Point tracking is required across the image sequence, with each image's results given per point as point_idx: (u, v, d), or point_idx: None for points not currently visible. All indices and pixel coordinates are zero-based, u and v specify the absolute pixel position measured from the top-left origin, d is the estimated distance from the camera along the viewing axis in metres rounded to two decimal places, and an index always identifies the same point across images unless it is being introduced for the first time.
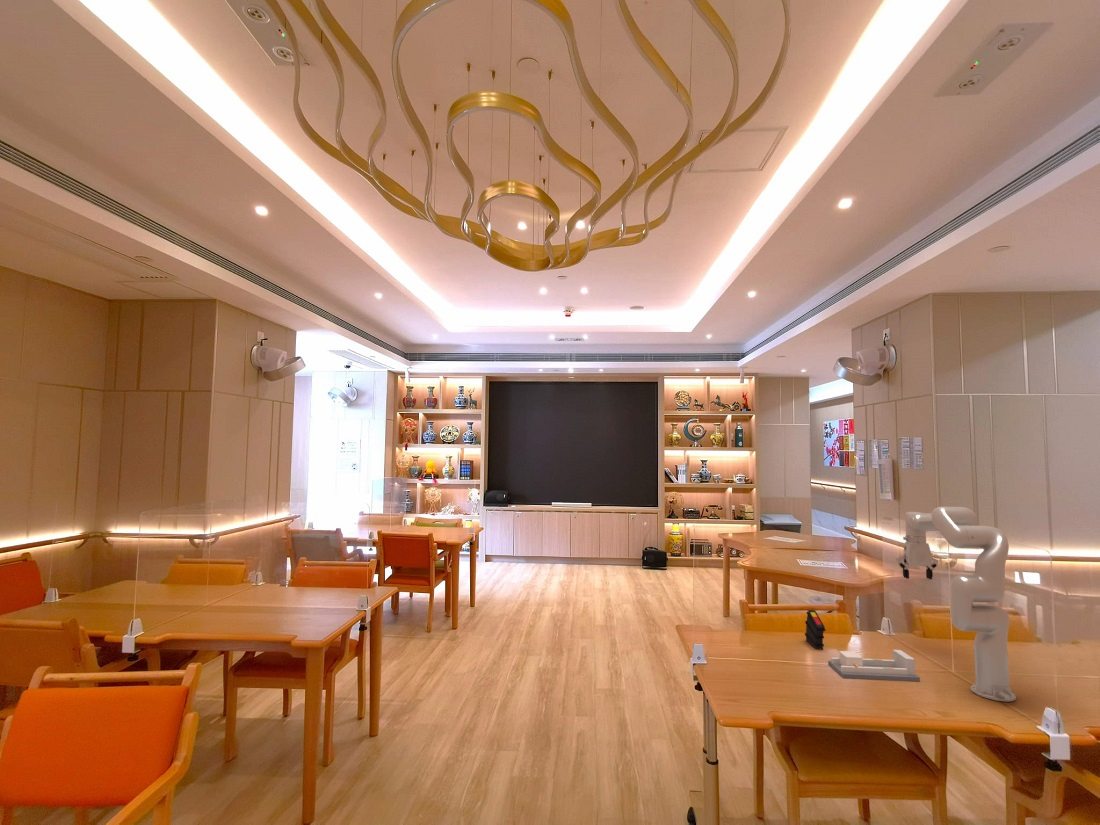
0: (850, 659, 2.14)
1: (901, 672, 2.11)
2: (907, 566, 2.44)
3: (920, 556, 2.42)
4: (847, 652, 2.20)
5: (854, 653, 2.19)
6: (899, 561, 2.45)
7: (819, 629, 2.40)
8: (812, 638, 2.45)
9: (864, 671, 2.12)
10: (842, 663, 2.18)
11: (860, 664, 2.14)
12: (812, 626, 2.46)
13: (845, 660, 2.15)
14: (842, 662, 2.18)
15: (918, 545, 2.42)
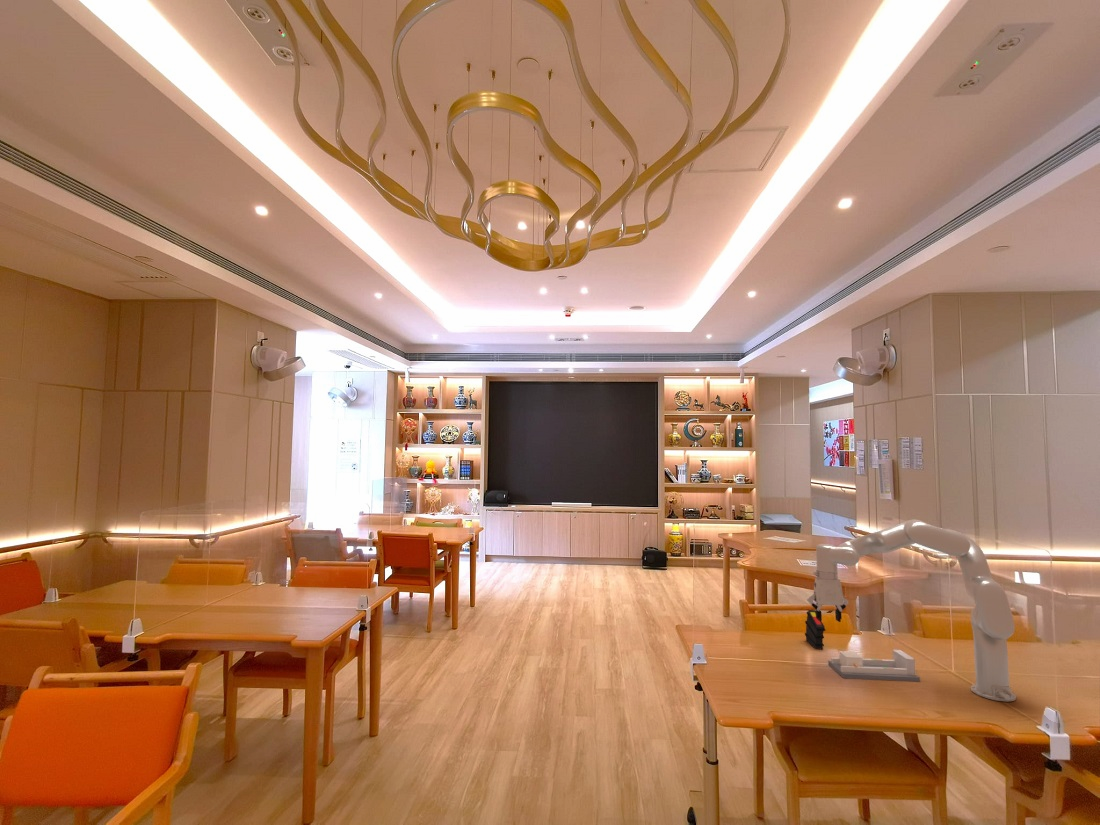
0: (850, 659, 2.14)
1: (901, 672, 2.11)
2: (819, 607, 2.19)
3: (830, 594, 2.17)
4: (847, 652, 2.20)
5: (854, 653, 2.19)
6: (810, 602, 2.20)
7: (819, 629, 2.40)
8: (812, 638, 2.45)
9: (864, 671, 2.12)
10: (842, 663, 2.18)
11: (860, 664, 2.14)
12: (812, 626, 2.46)
13: (845, 660, 2.15)
14: (842, 662, 2.18)
15: (828, 582, 2.18)
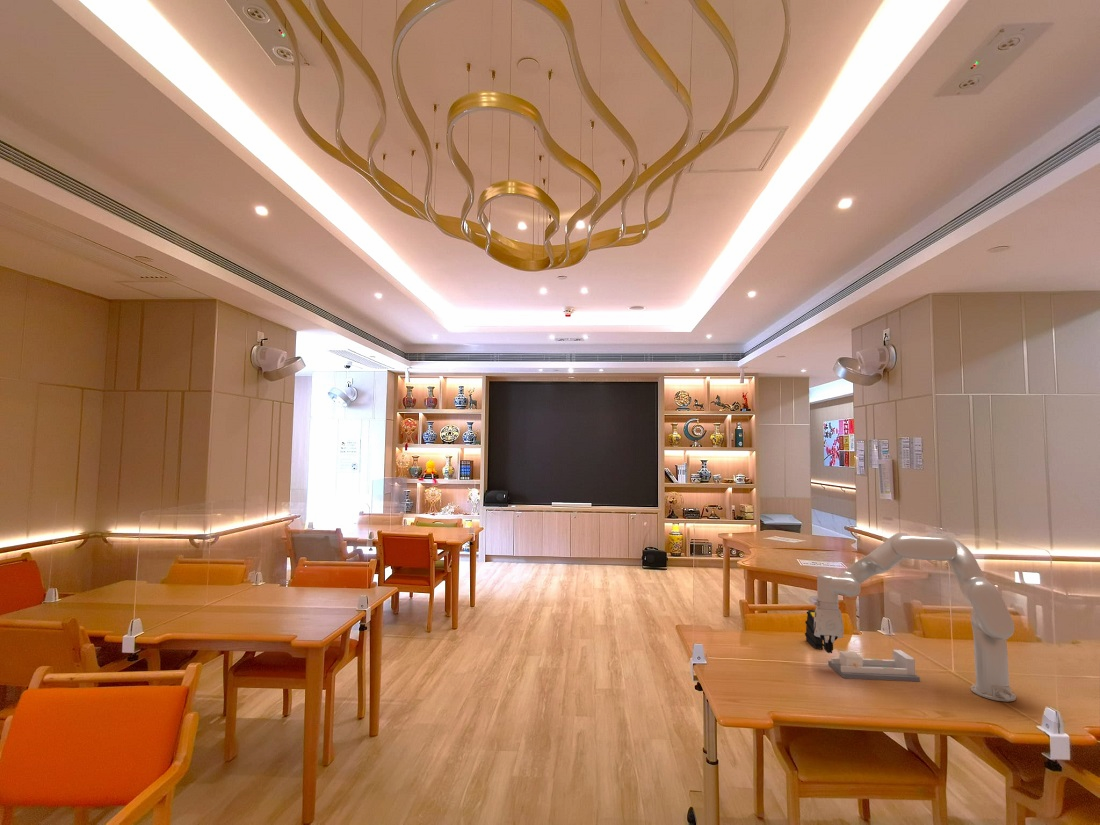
0: (850, 659, 2.14)
1: (901, 672, 2.11)
2: (826, 638, 2.18)
3: (830, 625, 2.16)
4: (847, 652, 2.20)
5: (854, 653, 2.19)
6: (818, 635, 2.19)
7: None
8: (812, 638, 2.45)
9: (864, 671, 2.12)
10: (842, 663, 2.18)
11: (860, 664, 2.14)
12: (812, 626, 2.46)
13: (845, 660, 2.15)
14: (842, 662, 2.18)
15: (829, 612, 2.17)
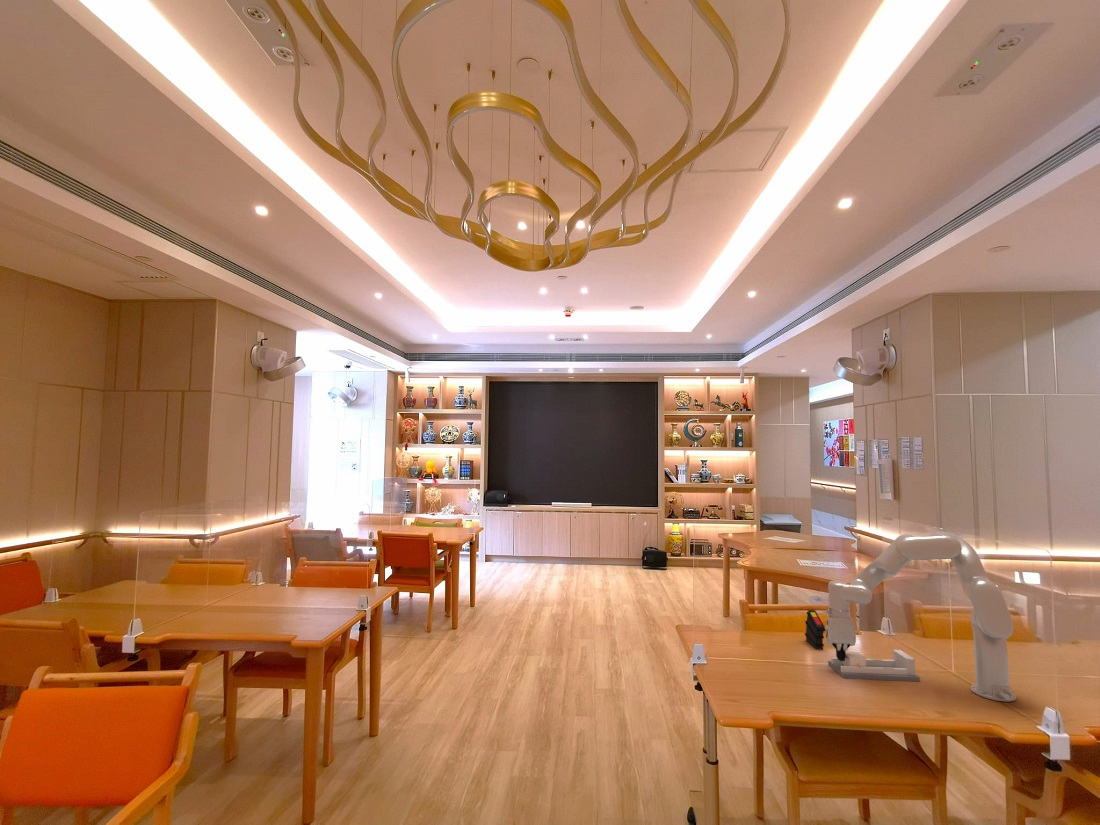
0: (854, 659, 2.14)
1: (901, 672, 2.11)
2: (838, 646, 2.17)
3: (842, 633, 2.16)
4: (850, 652, 2.20)
5: (857, 653, 2.18)
6: (830, 643, 2.18)
7: (819, 629, 2.40)
8: (812, 638, 2.45)
9: (864, 671, 2.12)
10: (845, 663, 2.18)
11: (863, 664, 2.14)
12: (812, 626, 2.46)
13: (848, 660, 2.15)
14: (845, 662, 2.18)
15: (841, 620, 2.16)
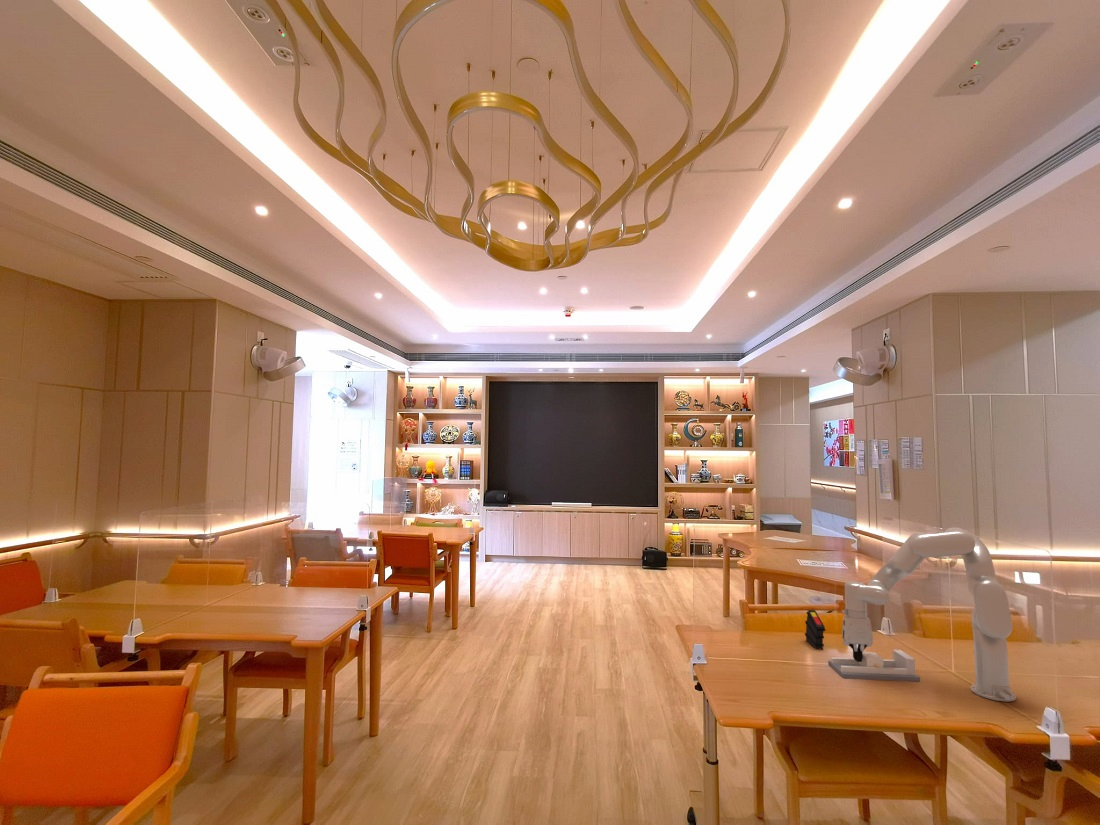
0: (871, 659, 2.13)
1: (901, 672, 2.11)
2: (855, 647, 2.16)
3: (859, 633, 2.15)
4: (867, 653, 2.19)
5: (874, 654, 2.18)
6: (847, 644, 2.17)
7: (819, 629, 2.40)
8: (812, 638, 2.45)
9: (864, 671, 2.12)
10: (862, 664, 2.17)
11: (881, 665, 2.13)
12: (812, 626, 2.46)
13: (865, 661, 2.15)
14: (862, 663, 2.18)
15: (858, 621, 2.16)
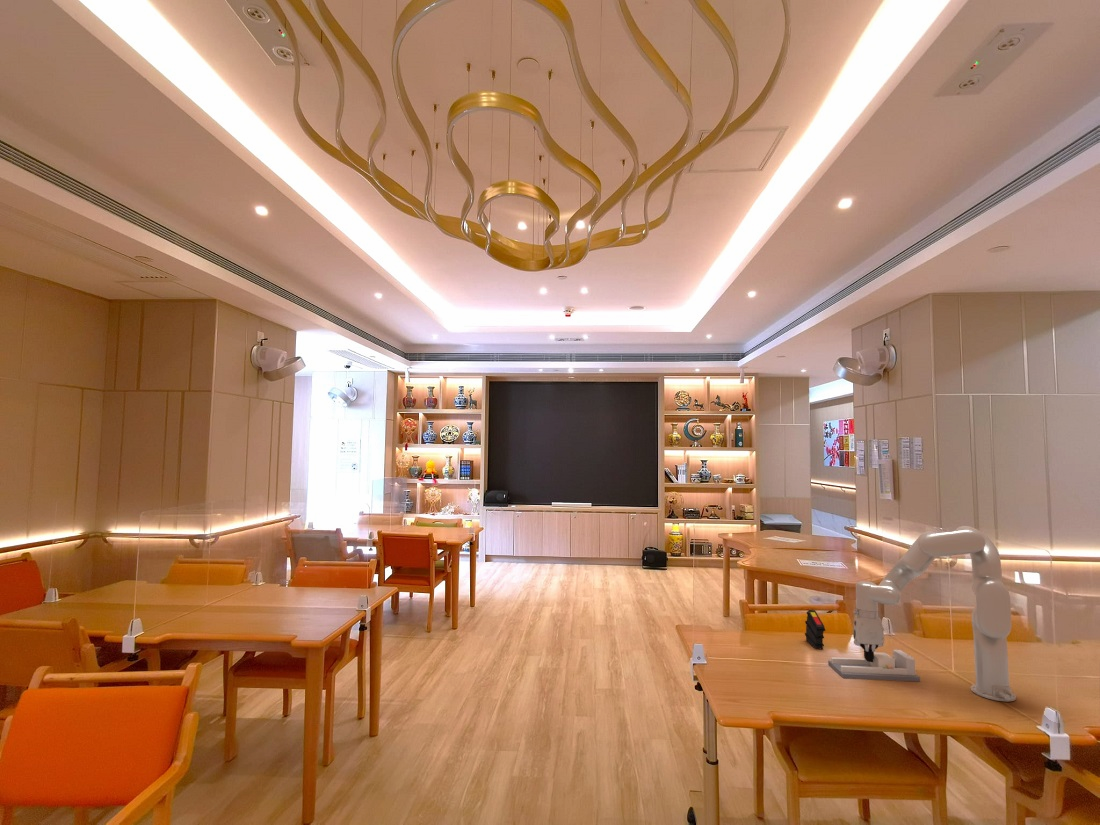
0: (882, 660, 2.13)
1: (901, 672, 2.11)
2: (866, 647, 2.16)
3: (871, 633, 2.15)
4: (878, 653, 2.19)
5: (885, 654, 2.17)
6: (858, 644, 2.17)
7: (819, 629, 2.40)
8: (812, 638, 2.45)
9: (864, 671, 2.12)
10: (873, 664, 2.17)
11: (892, 665, 2.12)
12: (812, 626, 2.46)
13: (877, 661, 2.14)
14: (873, 663, 2.17)
15: (869, 621, 2.15)
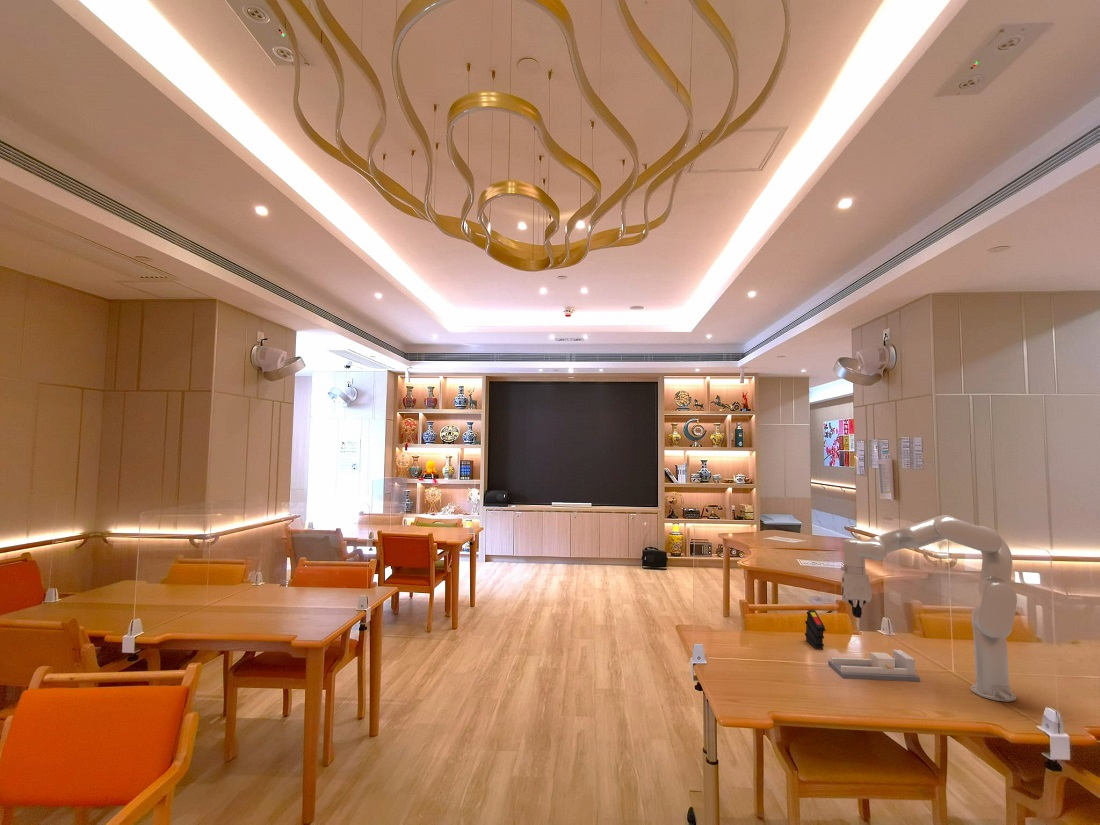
0: (882, 660, 2.13)
1: (901, 672, 2.11)
2: (854, 603, 2.18)
3: (858, 589, 2.17)
4: (878, 653, 2.19)
5: (885, 654, 2.17)
6: (846, 600, 2.19)
7: (819, 629, 2.40)
8: (812, 638, 2.45)
9: (864, 671, 2.12)
10: (873, 664, 2.17)
11: (892, 665, 2.12)
12: (812, 626, 2.46)
13: (877, 661, 2.14)
14: (873, 663, 2.17)
15: (856, 577, 2.17)
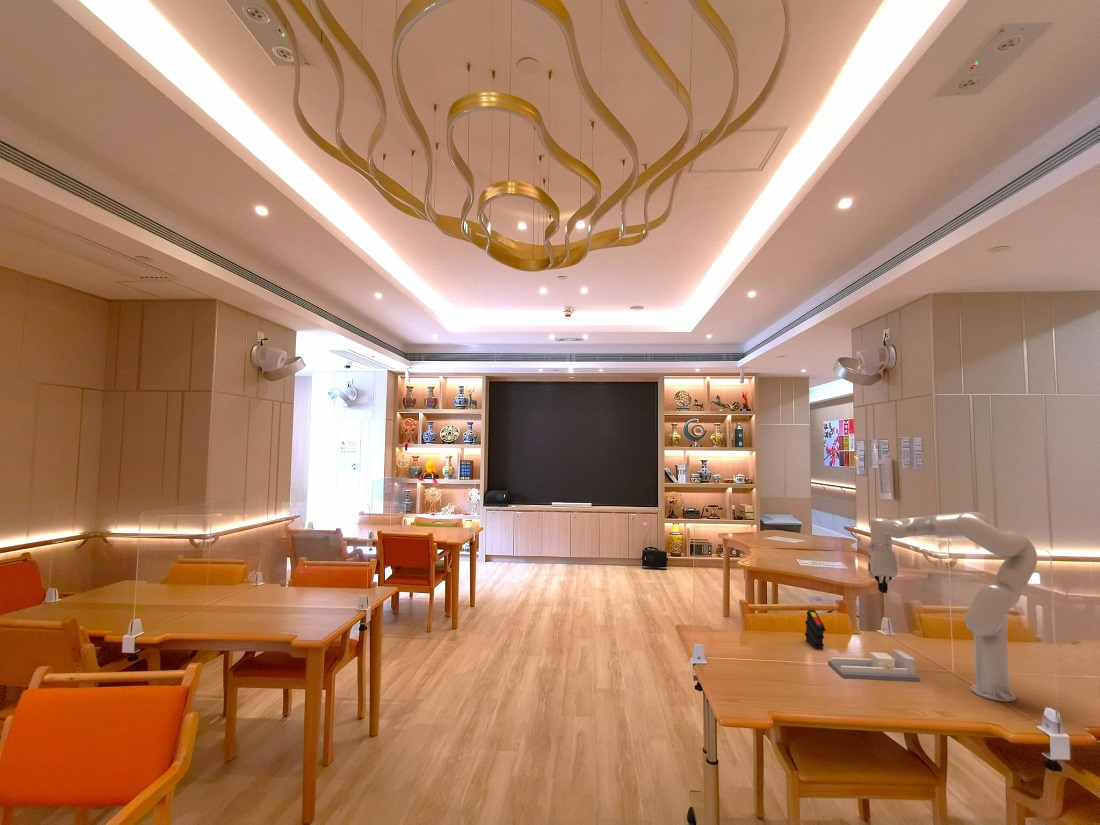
0: (882, 660, 2.13)
1: (901, 672, 2.11)
2: (880, 579, 2.27)
3: (885, 565, 2.25)
4: (878, 653, 2.19)
5: (885, 654, 2.17)
6: (872, 576, 2.28)
7: (819, 629, 2.40)
8: (812, 638, 2.45)
9: (864, 671, 2.12)
10: (873, 664, 2.17)
11: (892, 665, 2.12)
12: (812, 626, 2.46)
13: (877, 661, 2.14)
14: (873, 663, 2.17)
15: (883, 554, 2.26)
